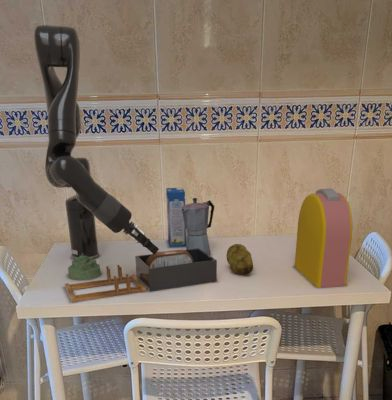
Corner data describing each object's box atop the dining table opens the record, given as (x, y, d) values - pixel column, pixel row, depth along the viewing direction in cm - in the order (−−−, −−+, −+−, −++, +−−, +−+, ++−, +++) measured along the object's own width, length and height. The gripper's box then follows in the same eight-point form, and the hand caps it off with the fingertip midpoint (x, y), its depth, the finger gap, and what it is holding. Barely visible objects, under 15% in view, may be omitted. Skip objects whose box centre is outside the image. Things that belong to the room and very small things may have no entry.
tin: (191, 273, 158) (191, 247, 154) (195, 276, 156) (194, 249, 152) (145, 279, 153) (144, 252, 150) (148, 282, 151) (147, 255, 147)
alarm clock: (346, 285, 149) (358, 194, 137) (317, 287, 148) (327, 196, 135) (319, 264, 167) (328, 182, 155) (293, 266, 166) (300, 183, 154)
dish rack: (64, 287, 150) (62, 271, 148) (134, 277, 158) (133, 262, 155) (72, 302, 140) (69, 285, 137) (146, 291, 147) (145, 275, 144)
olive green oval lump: (226, 277, 157) (227, 252, 153) (226, 265, 168) (226, 241, 164) (253, 277, 156) (254, 252, 153) (250, 265, 168) (251, 241, 164)
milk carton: (168, 240, 197) (166, 188, 188) (183, 239, 198) (182, 187, 188) (169, 247, 188) (167, 192, 179) (186, 246, 189) (184, 192, 180)
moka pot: (173, 256, 177) (171, 199, 168) (203, 247, 187) (202, 192, 178) (193, 261, 172) (192, 202, 162) (222, 252, 182) (223, 195, 172)
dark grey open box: (136, 276, 158) (135, 255, 155) (199, 268, 165) (198, 248, 162) (150, 291, 146) (148, 269, 143) (216, 281, 153) (216, 260, 150)
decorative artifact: (101, 278, 157) (99, 268, 166) (98, 256, 154) (97, 248, 163) (68, 281, 156) (69, 271, 164) (65, 259, 152) (66, 250, 161)
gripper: (126, 206, 133) (168, 244, 143) (113, 197, 145) (152, 232, 154) (108, 228, 134) (151, 264, 143) (97, 217, 146) (137, 251, 155)
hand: (152, 247), depth 149 cm, fingers open, 8 cm apart
